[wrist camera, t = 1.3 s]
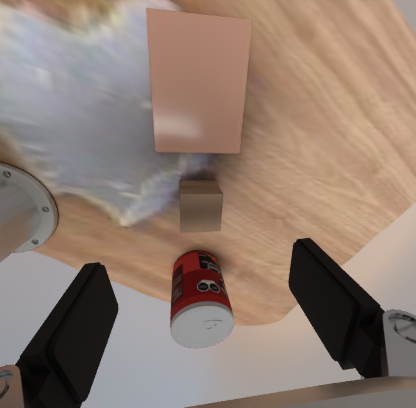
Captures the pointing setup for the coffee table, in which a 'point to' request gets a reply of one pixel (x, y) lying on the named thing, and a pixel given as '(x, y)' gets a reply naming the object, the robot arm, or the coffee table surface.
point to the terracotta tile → (197, 80)
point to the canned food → (199, 302)
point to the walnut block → (200, 206)
